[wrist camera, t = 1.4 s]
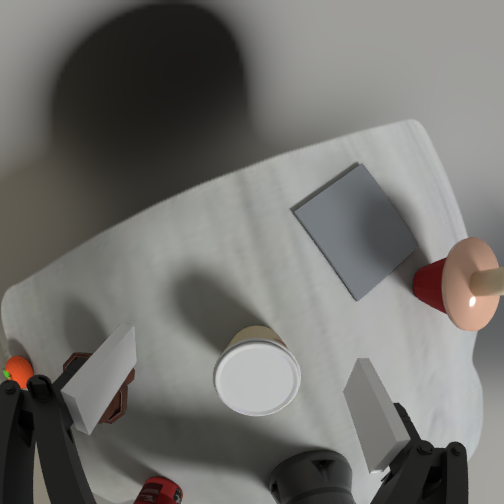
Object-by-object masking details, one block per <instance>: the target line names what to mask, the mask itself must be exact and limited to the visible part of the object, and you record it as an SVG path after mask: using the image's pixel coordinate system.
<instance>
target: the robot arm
mask: <svg viewBox="0 0 504 504" xmlns="http://www.w3.org/2000/svg"><path fill="white" fill-rule="evenodd" d="M136 362H137V358H136V346H135V331H134V325H132V324H128V323H125V322H122V323H121V324H120V325H119V327H118V328H117V329H116V330H115V331H114V332H113V333H112V334H111V335H110V336H109V337H108V338H107V339H106V340H105V342H104V343H103V344H102V345H101V346H100V347H99V348H98V349H97V350H96V351H95V352H94V354H93V355H92V356H91V357H90V358H89V359H88V360H86V359H84V358H79V359H77V360H75V361H73V362H72V364H71V365H70V366H69V367H68V368H67V369H66V370H65V371H64V373H62V374H61V375H60V376H59V377H58V379H57V380H56V381H55V382H54V383H53V384H52V383H51V380H50V379H49V378H48V377H47V376H44V375H34V376H32V377H30V378H29V379H28V381H27V383H26V386H27V388H28V391H25V390H22V389H21V387H20V385H19V383H18V382H16V381H14V380H6V381H4V382H2V383H1V385H0V504H33V470H34V453H35V444H36V442H37V448H38V454H39V459H40V464H41V469H42V473H43V477H44V481H45V485H46V488H47V492H48V495H49V498H50V502H51V504H96V501H95V499H94V497H93V494H92V492H91V489H90V487H89V484H88V482H87V479H86V476H85V474H84V471H83V468H82V465H81V462H80V459H79V456H78V452H77V449H76V445H75V442H74V438H73V434H72V431H71V429H70V427H71V425H72V424H73V423H74V425H75V427H76V429H77V430H79V431H81V432H83V433H85V434H87V435H89V436H90V434H91V433H92V431H93V429H94V428H95V426H96V424H97V423H98V421H99V420H100V418H101V416H102V415H103V413H104V412H105V410H106V408H107V407H108V405H109V404H110V402H111V401H112V399H113V397H114V396H115V394H116V393H117V391H118V390H119V388H120V387H121V385H122V383H123V382H124V380H125V379H126V377H127V376H128V374H129V373H130V371H131V370H132V368H133V367H134V365H135V364H136ZM343 393H344V396H345V399H346V401H347V404H348V407H349V410H350V413H351V416H352V419H353V422H354V425H355V428H356V431H357V434H358V438H359V441H360V444H361V447H362V450H363V453H364V457H365V460H366V463H367V466H368V470H369V473H370V474H372V473H378V472H383V471H384V470H385V469H386V468H387V467H388V466H389V467H390V472H389V473H388V474H387V475H386V476H385V477H384V478H383V479H382V480H381V481H383V480H384V479H385V480H384V481H383V483H382V485H381V487H380V488H379V490H378V492H377V493H376V495H375V497H374V498H373V500H372V502H371V503H370V504H468V466H467V454H466V449H465V447H464V446H463V444H461V443H459V442H451V443H449V445H448V446H447V447H446V448H434V447H433V445H432V444H431V443H430V442H428V441H425V440H421V438H420V436H419V434H418V432H417V431H416V429H415V427H414V425H413V423H412V422H411V419H410V417H409V416H408V414H407V412H406V410H405V408H404V407H403V406H401V405H400V404H399V403H392V401H391V399H390V397H389V395H388V393H387V391H386V389H385V387H384V385H383V384H382V382H381V380H380V378H379V376H378V374H377V372H376V371H375V369H374V367H373V365H372V363H371V362H370V360H369V358H358V359H357V361H356V364H355V366H354V368H353V371H352V373H351V375H350V378H349V380H348V382H347V385H346V387H345V389H344V391H343ZM269 485H270V492H271V495H272V496H273V498H274V500H275V501H276V503H277V504H356V503H355V501H354V499H353V496H352V494H351V487H352V469H351V467H350V465H349V463H348V461H347V459H346V458H345V457H343V456H342V455H340V454H338V453H335V452H331V451H311V452H306V453H302V454H299V455H296V456H293V457H291V458H289V459H287V460H285V461H284V462H282V463H281V464H280V465H278V466H277V467H276V468H275V469H274V471H273V472H272V474H271V476H270V479H269Z"/></svg>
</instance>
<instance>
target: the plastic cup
mask: <svg viewBox="0 0 504 504" xmlns="http://www.w3.org/2000/svg"><path fill="white" fill-rule="evenodd" d="M446 258H447V257H446ZM446 258H444V259H441V260H439V261H436V262H434V263H432V264H429V265H427V266H424V267H422V268H421V269H419V270H418V272H417V273H416V274H415V277H414V279H413V290H414V293H415V295H416V297H417V298H418V299H419V300H421V301H422V302H424V303H426V304H428V305H430V306H431V307H433V308H435V309H437V310H439V311H441V312H443V313H445V314H447V312H446V310H445V307H444V303H443V298H442V273H443V268H444V264H445V261H446Z"/></svg>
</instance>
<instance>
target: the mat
mask: <svg viewBox="0 0 504 504" xmlns="http://www.w3.org/2000/svg"><path fill="white" fill-rule="evenodd" d="M294 215H295V216H296V217H297V218H298V220H299V221H300V223H301V224H302V225H303V227H304V228H305V229H306V231H307V232H308V233H309V235H310V236H311V237H312V239H313V240H314V242H315V243H316V244H317V246H318V247H319V248H320V250H321V251H322V253H323V254H324V255H325V257H326V258H327V260H328V261H329V262H330V264H331V265H332V267H333V268H334V270H335V271H336V273H337V274H338V275H339V277H340V278H341V280H342V281H343V283H344V284H345V286H346V287H347V289H348V290H349V292H350V293H351V295H352V296H353V297H354V299H355V301H359V300H360V299H361V298H362V297H364V296H365V295H366V294H367V293H368V292H369V291H370V290H372V289H373V288H374V287H375V286H376V285H377V284H378V283H380V282H381V281H382V280H383V279H384V278H385V277H386V276H387V275H388V274H390V273H391V272H392V271H393V270H394V269H395V268H396V267H397V266H398V265H399V264H400V263H401V262H402V261H403V260H404V259H406V258H407V257H408V256H409V255H410V254H411V253H412V252H413V251H414V250H415V249H416V248H417V247H418V246H419V245H418V243H417V242H416V240H415V238H414V237H413V235H412V234H411V232H410V230H409V229H408V227H407V226H406V224H405V222H404V221H403V219H402V218H401V216H400V215H399V213H398V212H397V210H396V209H395V207H394V206H393V204H392V203H391V201H390V200H389V199H388V197H387V196H386V194H385V193H384V192H383V190H382V189H381V187H380V186H379V185H378V183H377V182H376V181H375V179H374V178H373V177H372V175H371V174H370V173H369V171H368V170H367V169H366V167H365V166H364V165H363V164H360V165H359V166H357V167H356V168H355V169H353V170H352V171H350V172H349V173H348V174H346V175H345V176H343V177H342V178H341V179H339V180H338V181H336V182H335V183H334V184H332V185H331V186H329V187H328V188H327V189H325V190H324V191H322V192H321V193H320V194H318V195H317V196H315V197H314V198H313V199H311V200H310V201H308V202H307V203H306V204H304V205H303V206H301V207H300V208H299V209H297V210H296V211H294Z"/></svg>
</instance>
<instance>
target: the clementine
mask: <svg viewBox="0 0 504 504" xmlns="http://www.w3.org/2000/svg"><path fill="white" fill-rule="evenodd" d="M4 369H5V368H4ZM4 369H3V372H4V375H5V376H6V377H7V378H8V380H14V381H16V382H18V383H19V385H20V387H21V389H24V388H27V386H26V383H27V381H28V379H29V378H30V377H32V376H34V373H33V369H32V367H31V365H30V363H29V362H28V361H27V360H26V359H24V358H23V357H20V356H14V357H11V358H10V359H9V360H8V361H7V363H6V371H4Z"/></svg>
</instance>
